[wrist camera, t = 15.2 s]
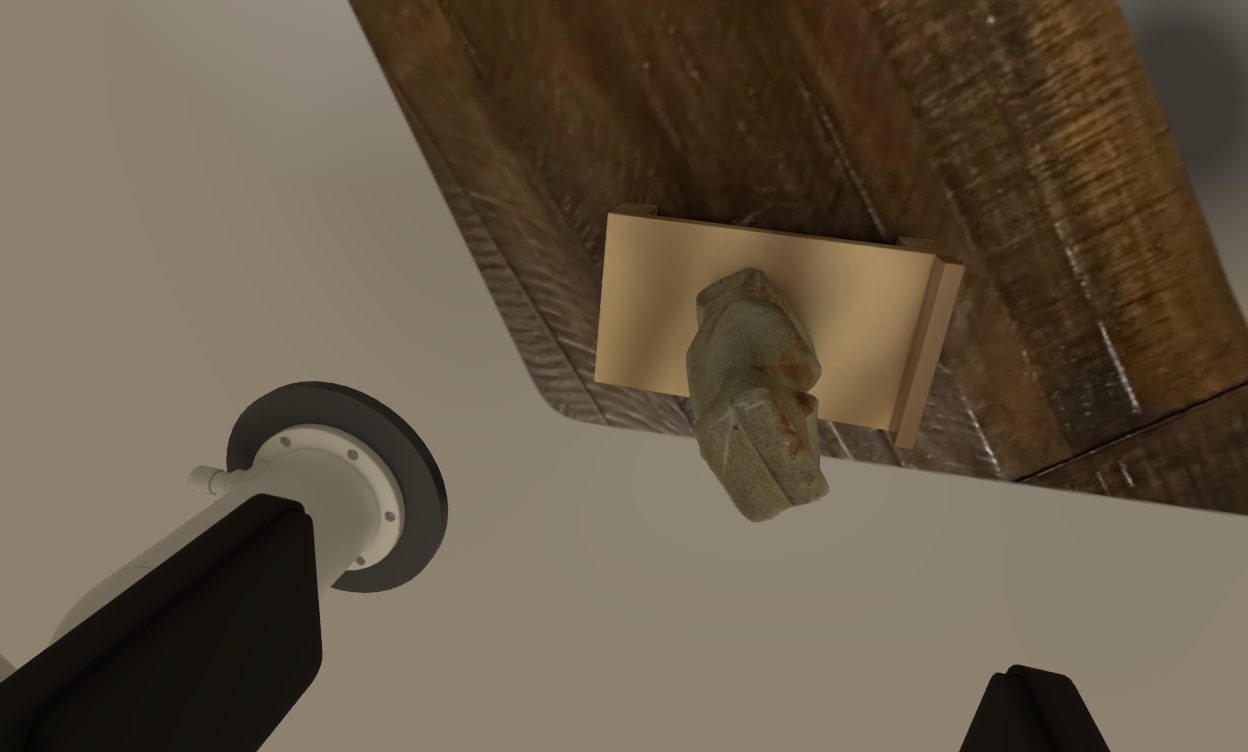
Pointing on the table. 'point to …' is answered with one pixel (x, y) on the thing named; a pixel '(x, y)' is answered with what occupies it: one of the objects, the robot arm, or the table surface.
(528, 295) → the table surface
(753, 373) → the sculpture
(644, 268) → the shelf
